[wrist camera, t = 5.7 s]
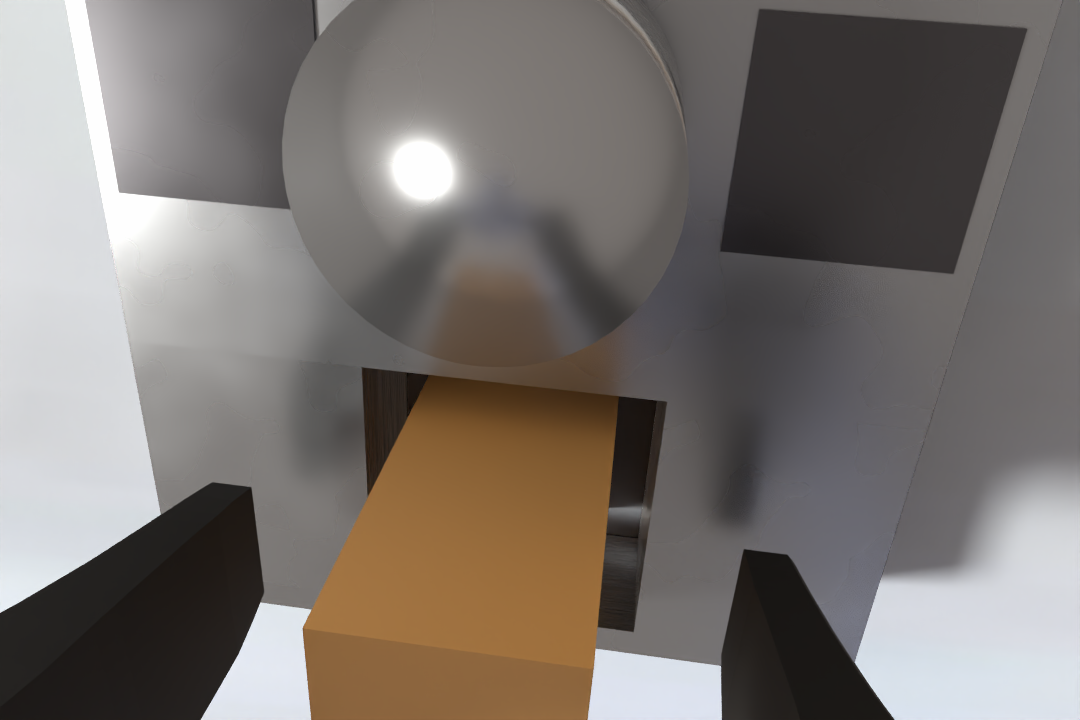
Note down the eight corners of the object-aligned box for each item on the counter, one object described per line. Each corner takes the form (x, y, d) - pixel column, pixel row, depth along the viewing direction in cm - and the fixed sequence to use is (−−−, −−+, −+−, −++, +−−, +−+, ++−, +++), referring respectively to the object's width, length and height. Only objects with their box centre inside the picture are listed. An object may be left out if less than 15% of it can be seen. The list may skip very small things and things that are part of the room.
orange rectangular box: (605, 508, 17) (571, 853, 11) (444, 488, 17) (320, 814, 11) (621, 363, 15) (593, 669, 9) (445, 343, 16) (302, 628, 10)
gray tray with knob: (824, 582, 17) (887, 851, 12) (234, 506, 18) (77, 728, 13) (1016, -117, 11) (1276, -131, 7) (143, -169, 12) (-190, -214, 8)
